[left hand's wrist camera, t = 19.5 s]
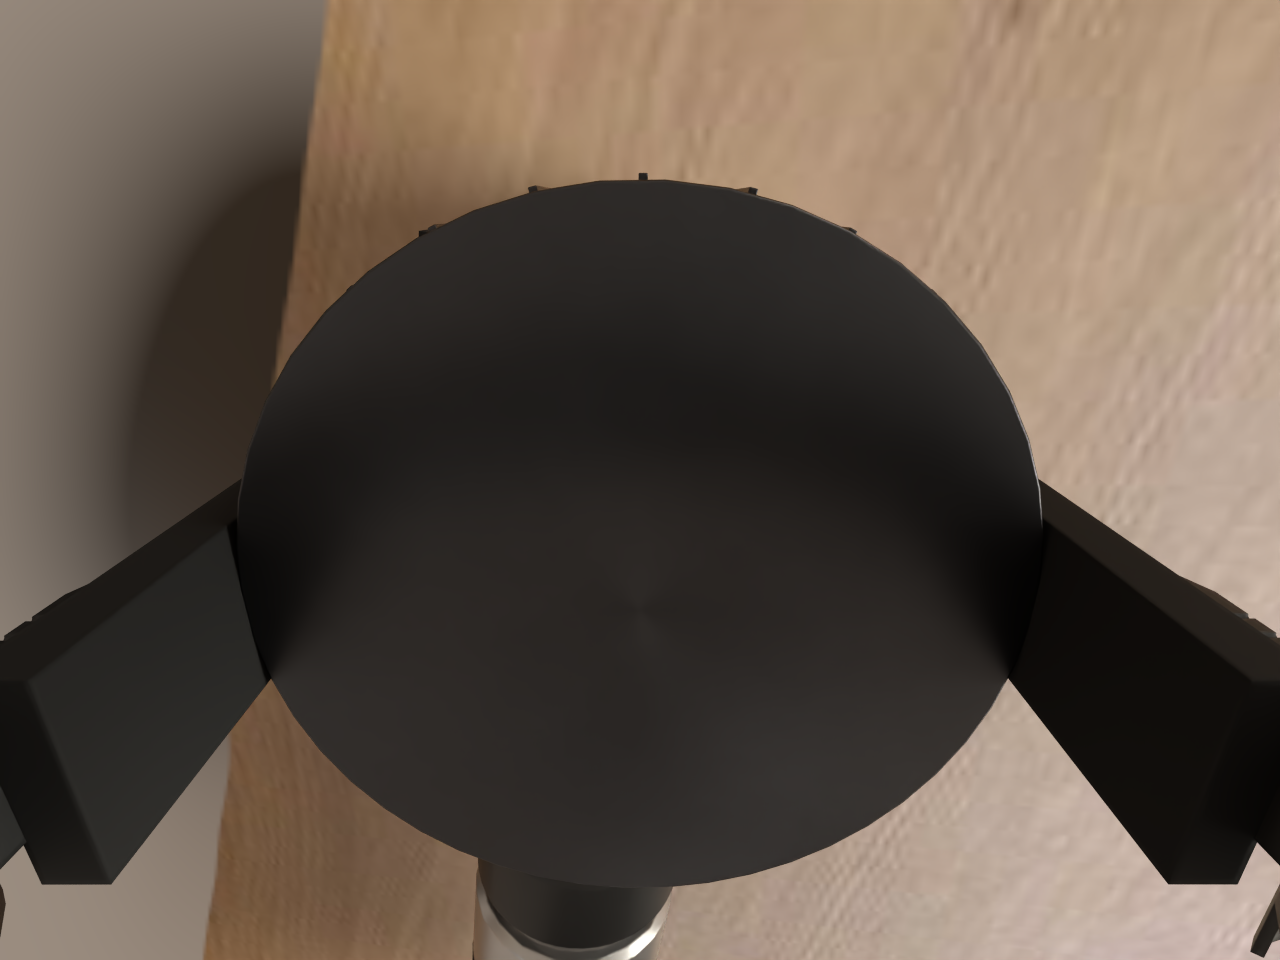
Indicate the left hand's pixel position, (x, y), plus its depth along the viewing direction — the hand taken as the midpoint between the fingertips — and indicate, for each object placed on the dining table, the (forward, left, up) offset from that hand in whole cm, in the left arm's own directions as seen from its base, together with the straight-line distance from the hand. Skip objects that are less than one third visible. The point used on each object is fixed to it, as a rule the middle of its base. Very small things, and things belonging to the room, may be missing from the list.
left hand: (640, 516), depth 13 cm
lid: (0, 0, +3) cm, 3 cm away
